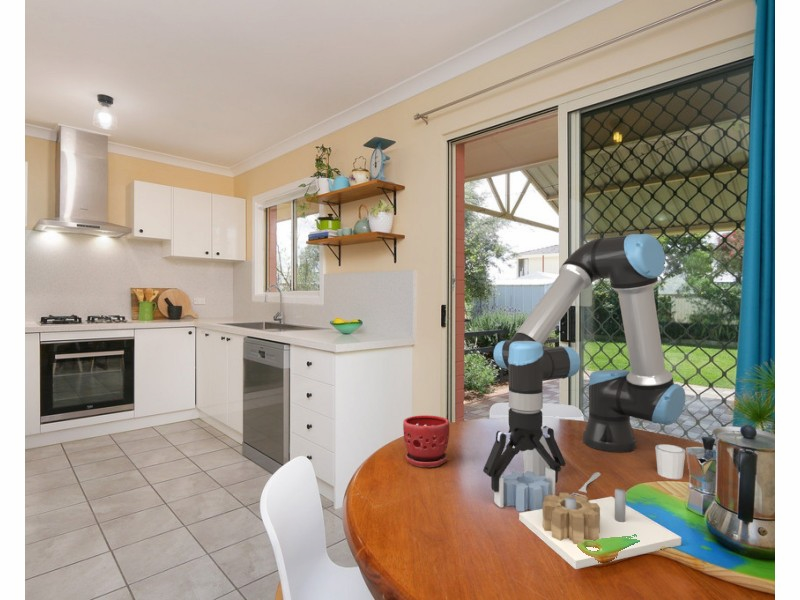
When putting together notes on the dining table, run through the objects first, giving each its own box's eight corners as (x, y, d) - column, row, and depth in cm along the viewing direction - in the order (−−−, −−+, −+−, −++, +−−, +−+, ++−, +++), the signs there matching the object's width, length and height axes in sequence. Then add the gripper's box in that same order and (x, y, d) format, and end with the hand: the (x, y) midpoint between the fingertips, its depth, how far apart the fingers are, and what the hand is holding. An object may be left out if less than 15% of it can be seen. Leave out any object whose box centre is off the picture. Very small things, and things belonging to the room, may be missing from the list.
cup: (554, 482, 116) (554, 435, 116) (521, 480, 118) (521, 433, 117) (550, 470, 124) (550, 425, 124) (519, 467, 126) (519, 424, 125)
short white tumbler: (651, 475, 120) (652, 448, 120) (658, 467, 125) (659, 441, 125) (682, 482, 115) (682, 454, 115) (688, 474, 120) (688, 447, 120)
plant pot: (457, 466, 127) (457, 423, 127) (413, 473, 123) (413, 429, 122) (437, 450, 139) (437, 411, 139) (397, 456, 135) (396, 416, 134)
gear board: (611, 503, 105) (611, 470, 105) (681, 545, 88) (681, 506, 88) (519, 519, 98) (519, 485, 97) (575, 569, 81) (575, 527, 80)
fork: (608, 471, 124) (608, 465, 123) (580, 506, 104) (580, 498, 104) (595, 469, 125) (595, 462, 125) (565, 502, 106) (565, 494, 106)
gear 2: (560, 511, 98) (561, 488, 98) (609, 530, 90) (609, 505, 90) (532, 528, 92) (532, 503, 91) (582, 551, 83) (582, 523, 83)
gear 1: (532, 488, 113) (532, 468, 113) (559, 508, 103) (559, 485, 103) (493, 494, 110) (493, 473, 109) (517, 515, 100) (517, 492, 99)
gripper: (561, 401, 113) (560, 486, 113) (468, 409, 105) (468, 501, 106) (581, 408, 106) (581, 499, 106) (484, 418, 98) (484, 516, 99)
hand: (525, 500), depth 106 cm, fingers open, 13 cm apart
